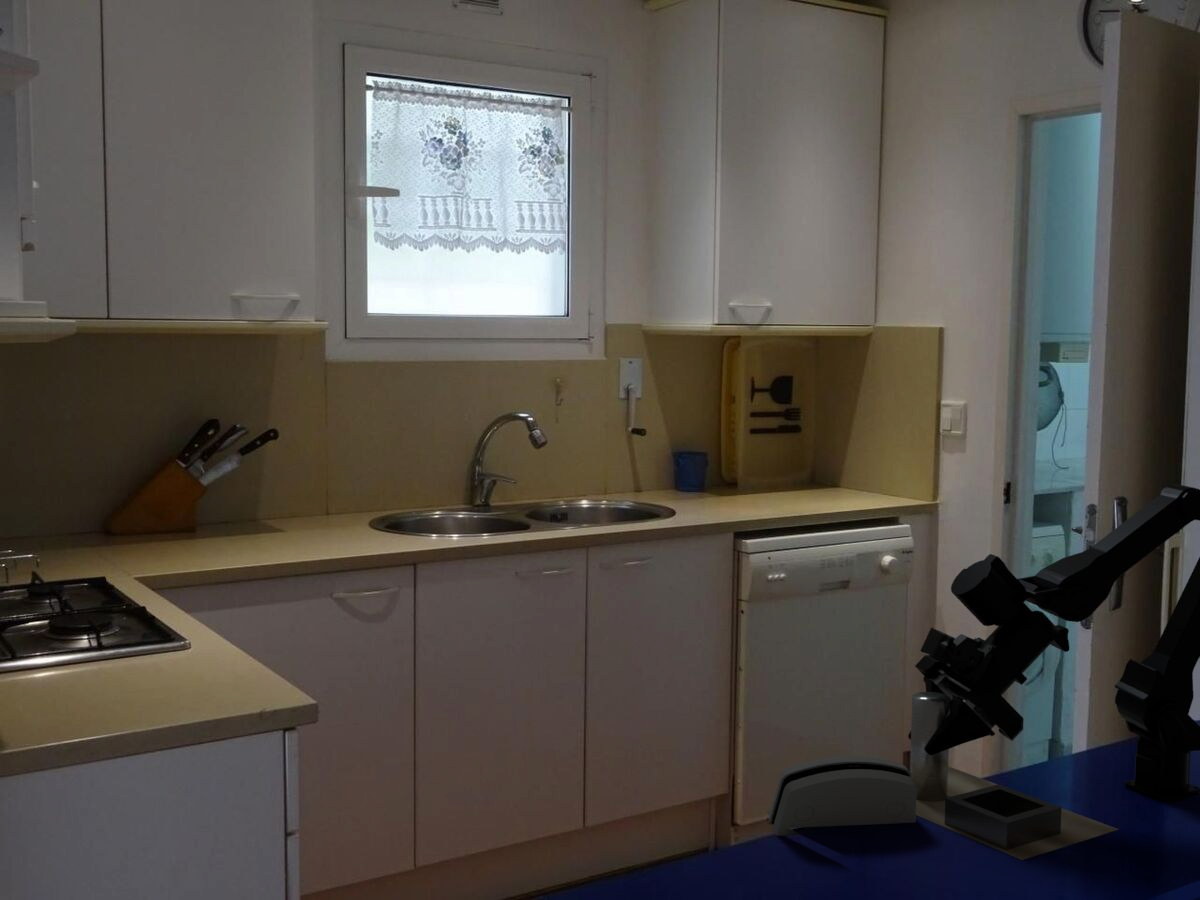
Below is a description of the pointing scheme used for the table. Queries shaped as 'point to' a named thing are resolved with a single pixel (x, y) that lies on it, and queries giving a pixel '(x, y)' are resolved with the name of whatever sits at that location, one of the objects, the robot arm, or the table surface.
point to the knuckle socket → (1003, 816)
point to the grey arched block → (842, 794)
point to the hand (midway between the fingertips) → (918, 746)
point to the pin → (924, 724)
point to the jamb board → (961, 782)
